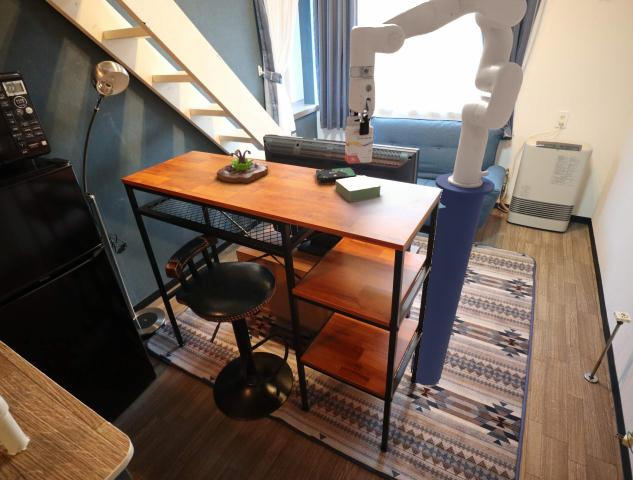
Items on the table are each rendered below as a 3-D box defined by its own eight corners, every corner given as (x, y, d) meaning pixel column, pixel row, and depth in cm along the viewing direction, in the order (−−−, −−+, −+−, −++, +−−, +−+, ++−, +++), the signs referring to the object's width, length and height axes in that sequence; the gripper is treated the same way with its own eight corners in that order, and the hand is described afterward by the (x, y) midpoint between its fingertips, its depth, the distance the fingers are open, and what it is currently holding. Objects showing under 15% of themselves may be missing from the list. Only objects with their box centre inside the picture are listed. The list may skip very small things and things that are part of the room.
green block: (363, 185, 132) (364, 175, 130) (379, 196, 123) (380, 185, 121) (335, 190, 129) (335, 179, 127) (349, 202, 119) (349, 191, 117)
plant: (209, 180, 141) (204, 153, 136) (235, 165, 157) (231, 140, 151) (251, 185, 135) (248, 157, 129) (274, 169, 151) (271, 144, 145)
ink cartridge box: (348, 164, 117) (349, 119, 110) (344, 160, 121) (345, 116, 114) (372, 162, 118) (374, 117, 111) (368, 158, 122) (370, 115, 115)
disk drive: (320, 185, 134) (356, 181, 136) (319, 178, 133) (357, 174, 134) (315, 176, 143) (350, 172, 145) (315, 169, 141) (350, 166, 143)
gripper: (387, 74, 100) (382, 137, 109) (359, 70, 114) (357, 126, 123) (364, 75, 98) (361, 139, 107) (339, 71, 112) (338, 128, 121)
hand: (359, 132), depth 115 cm, fingers closed on ink cartridge box, 5 cm apart
